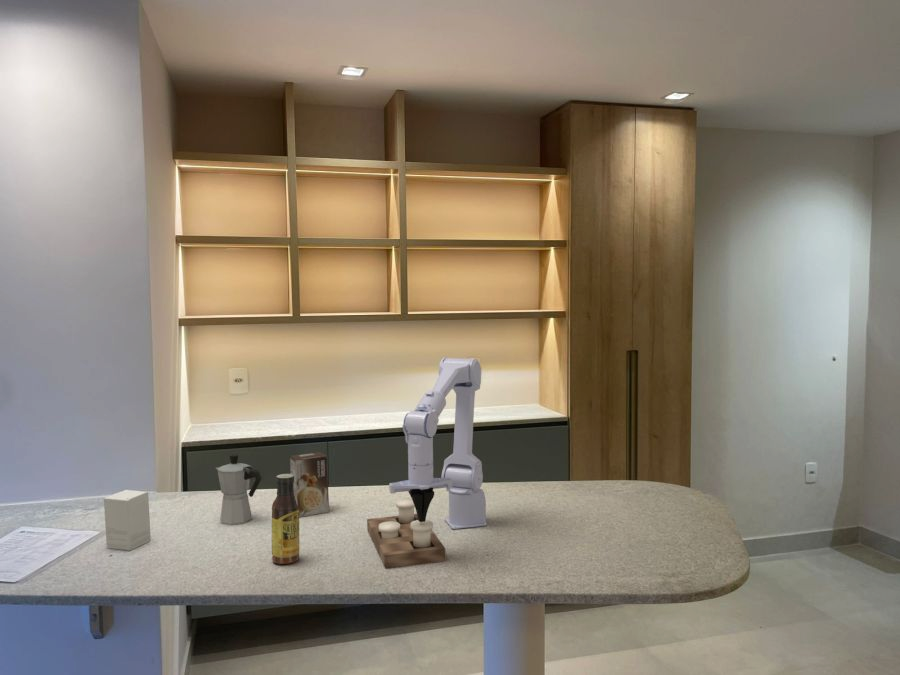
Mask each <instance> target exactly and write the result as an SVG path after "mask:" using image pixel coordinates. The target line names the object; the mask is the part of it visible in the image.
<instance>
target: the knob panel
mask: <svg viewBox="0 0 900 675" xmlns="http://www.w3.org/2000/svg"><path fill="white" fill-rule="evenodd" d="M416 520H418V517H417V513H414V521H416ZM388 521H393V522H398V523H400V522H399V515H394V516H385V517H383V516H382V517H375V518H373V517H372V518H367V519H366V522H367V523H366V526H367V530H368V531H367V532H368V535H369V537H370V539H371V541H372V543H374V544H373V546H374V545H375V546H374V547H375V550H376V552H377V554H378V556H379V559H380V558H381V559H380V561H381V560H382V561H381V563H382V565H383V567H384V569H391V567H393V568H398V567H399V566H400V567H407V566H408V567H409V566H415V564H416V565H422V564H423V563H424V564H431V562H432V563H439V561H440V562H446V547H445V545H444V544H443V543H442V542H441V541H440V539H439V538H438V536H437V535H436V534H435V532H434V530H433V529H431V530H430V538H431V545H430V546H428V547H425V548H418V547H415V546H414V545H413V530H411V526H410V524H411V523H400V530H399V531H398V537H396V538H387V539H381V532H380V531H379V524H380V523H383V522H388ZM400 567H399V568H400Z"/></svg>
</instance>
